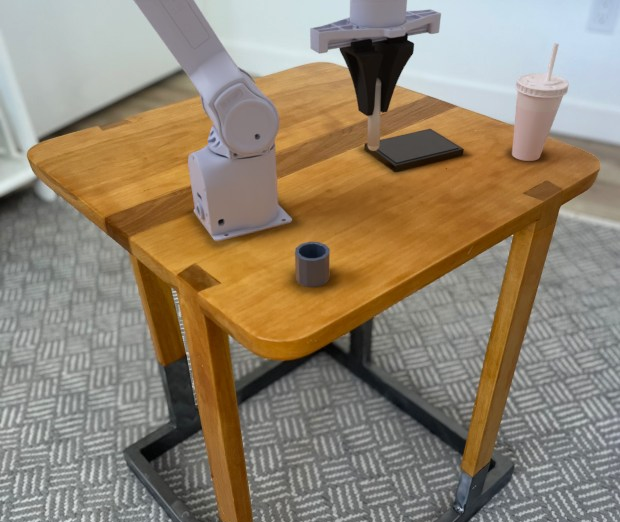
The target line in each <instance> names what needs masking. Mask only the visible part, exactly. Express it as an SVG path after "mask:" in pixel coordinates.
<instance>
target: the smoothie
mask: <svg viewBox="0 0 620 522" xmlns="http://www.w3.org/2000/svg"><path fill="white" fill-rule="evenodd" d="M558 49H559V43H556V42H555V43H553V46H552V51H551V55H550V60H549V63H548V64H549V65H548V68H547V71H546V73H540V72H538V73H537V72H535V73H534V72H533V73H532V72H531V73H526V74H522V75H520V76H519V77H517V80H516V84H515V86H514V88H515V90H516V91H517V92H516V99H515V101H516V102H515V115H514V126H513V137H512V149H511V156H512V157H513V158H515V159H517V160H519V161H524V162H533V161H538V160H539V159H540V158H541V155H542V152H543V150H544V148H545V146H546V145H545V144H546V142H547V139H548V137H549V135H550V132H551V129H552V127H553V124H554V121H555V118H556V116H557V113H558V111H559V109H560V106H561V103H562V101H563V98H564V96H565V95H566V94H567V93H568V91H569V90H568V89H569V86H570V83H569V81H568V80H567V79H566V78H564V77H562V76H560V75H559V76H558V75H555V74H553V71H554V70H553V69H554V66H555V62H556V57H557V53H558Z"/></svg>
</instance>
